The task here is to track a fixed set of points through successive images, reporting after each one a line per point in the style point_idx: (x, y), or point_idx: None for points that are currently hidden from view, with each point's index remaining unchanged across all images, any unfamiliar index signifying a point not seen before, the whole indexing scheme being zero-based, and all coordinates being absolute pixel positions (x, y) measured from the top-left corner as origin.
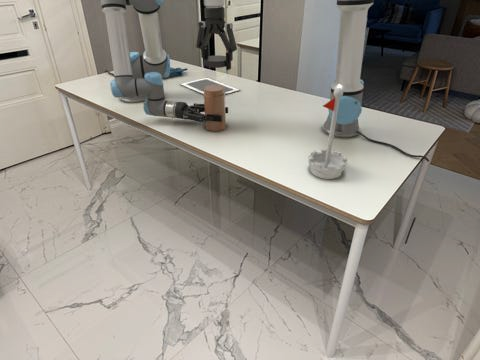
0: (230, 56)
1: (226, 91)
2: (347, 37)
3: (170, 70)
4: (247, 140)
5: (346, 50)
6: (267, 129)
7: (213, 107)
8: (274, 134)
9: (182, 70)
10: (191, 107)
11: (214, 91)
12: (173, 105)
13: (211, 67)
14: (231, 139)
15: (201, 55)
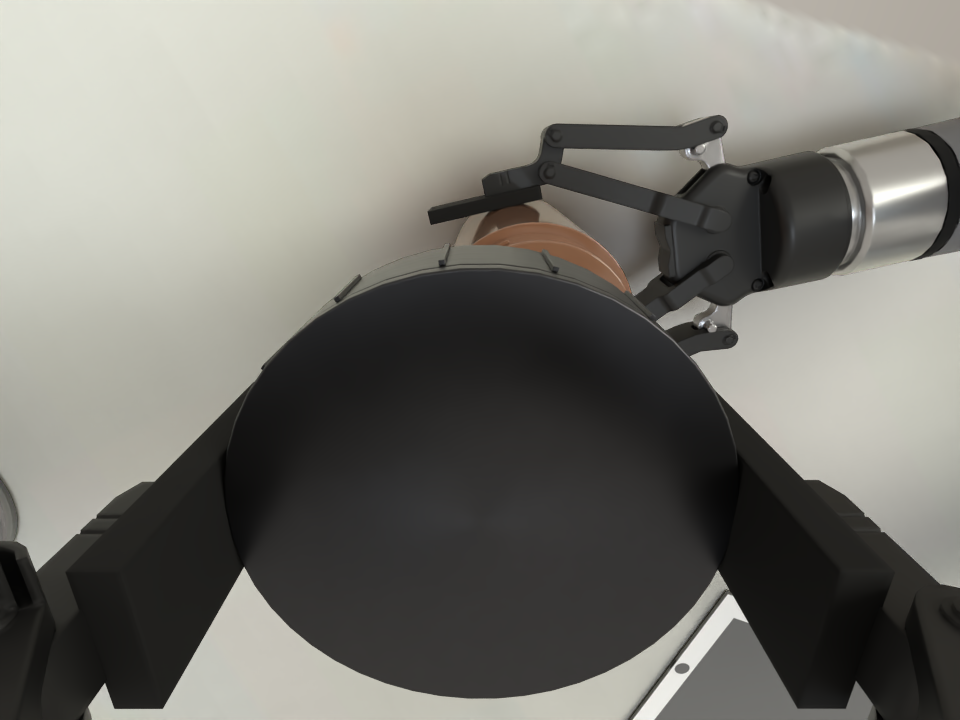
0: (74, 545)
1: (686, 689)
2: None
3: None
4: (247, 176)
5: None
6: (234, 360)
7: (492, 219)
8: (166, 319)
9: None
10: (716, 256)
11: None
12: (862, 173)
13: (464, 246)
14: (336, 142)
15: (856, 510)
